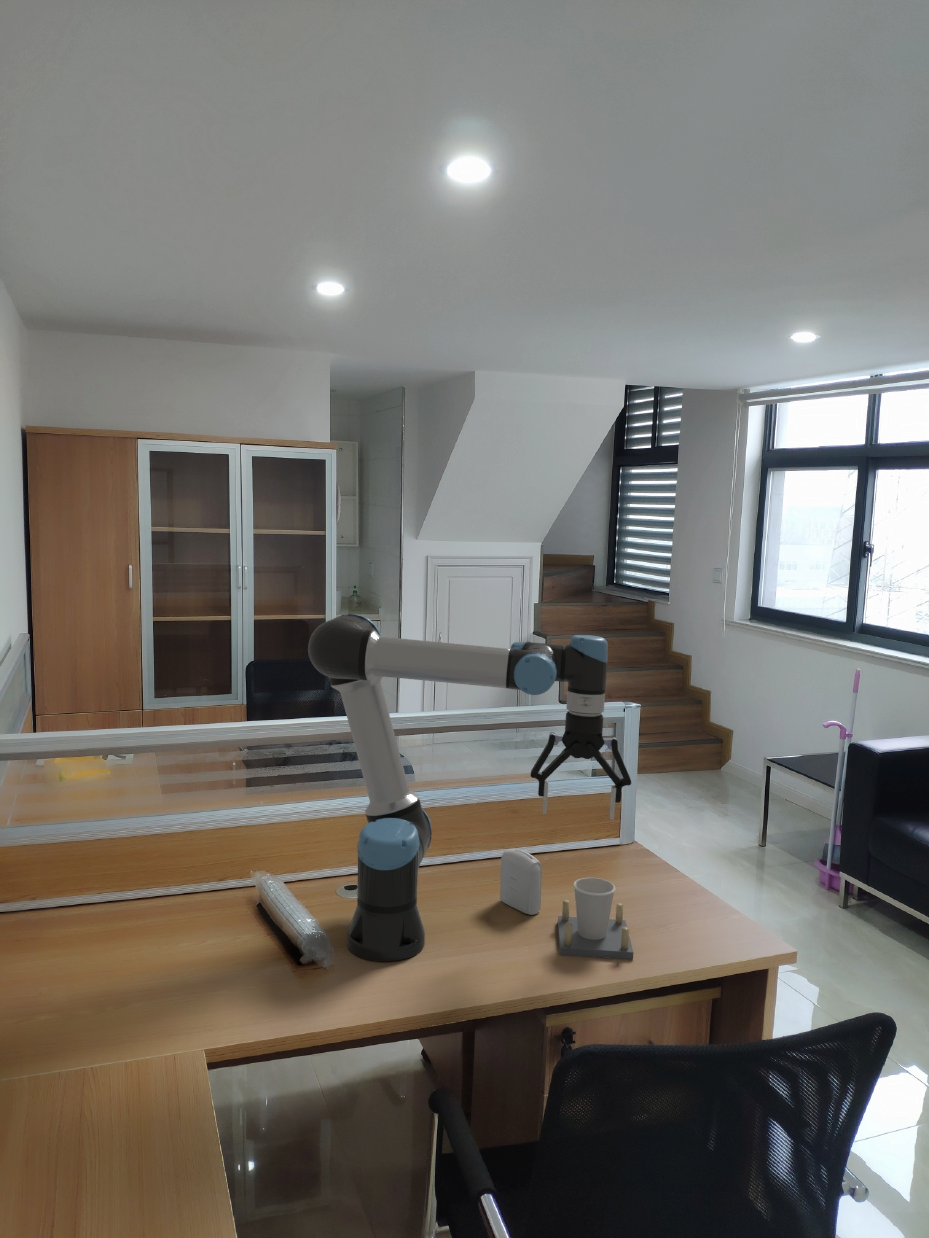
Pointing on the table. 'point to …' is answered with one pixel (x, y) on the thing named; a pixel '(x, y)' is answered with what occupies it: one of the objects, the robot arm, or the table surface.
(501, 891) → the photo printer
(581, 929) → the dixie cup
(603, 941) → the plate
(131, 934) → the table surface
